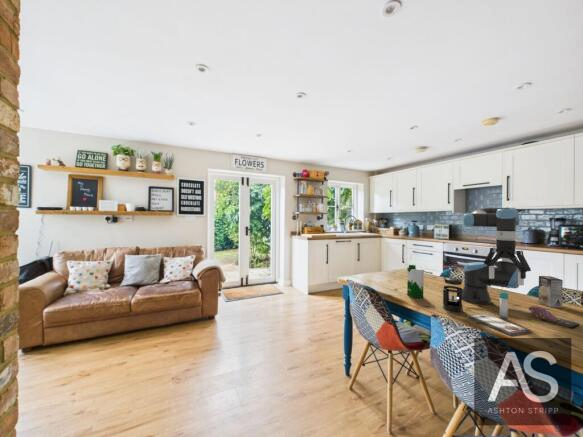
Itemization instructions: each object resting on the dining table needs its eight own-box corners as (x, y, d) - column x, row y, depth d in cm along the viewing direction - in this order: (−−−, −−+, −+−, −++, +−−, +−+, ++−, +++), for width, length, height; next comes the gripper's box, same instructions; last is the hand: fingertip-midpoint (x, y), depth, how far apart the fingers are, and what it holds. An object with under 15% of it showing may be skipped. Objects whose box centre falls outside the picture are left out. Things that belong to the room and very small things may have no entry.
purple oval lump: (530, 317, 132) (525, 305, 132) (537, 313, 132) (532, 301, 132) (551, 325, 122) (546, 313, 122) (559, 321, 123) (553, 308, 122)
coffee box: (537, 301, 153) (537, 275, 153) (550, 302, 151) (550, 276, 151) (549, 307, 144) (550, 279, 144) (563, 307, 142) (563, 279, 142)
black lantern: (451, 305, 145) (452, 265, 145) (468, 311, 136) (468, 269, 136) (436, 307, 141) (437, 267, 141) (452, 313, 132) (452, 270, 132)
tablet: (467, 317, 127) (467, 315, 127) (486, 315, 130) (486, 313, 130) (509, 335, 108) (509, 332, 108) (530, 332, 111) (530, 329, 111)
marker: (497, 317, 128) (497, 292, 128) (502, 316, 128) (502, 291, 128) (504, 320, 124) (504, 294, 124) (509, 319, 125) (510, 293, 125)
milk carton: (405, 294, 167) (405, 264, 167) (419, 294, 166) (419, 264, 166) (411, 298, 158) (411, 266, 158) (425, 298, 158) (426, 266, 158)
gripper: (476, 237, 137) (475, 276, 137) (529, 242, 113) (529, 288, 113) (486, 237, 139) (486, 275, 139) (541, 241, 115) (540, 287, 115)
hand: (505, 281), depth 126 cm, fingers open, 13 cm apart
